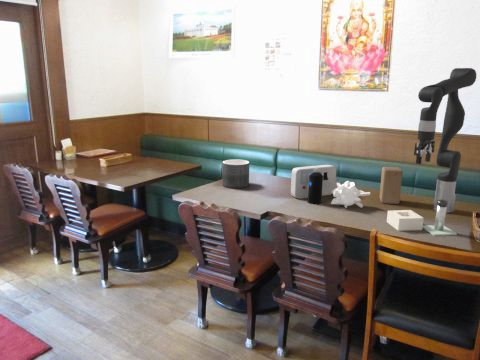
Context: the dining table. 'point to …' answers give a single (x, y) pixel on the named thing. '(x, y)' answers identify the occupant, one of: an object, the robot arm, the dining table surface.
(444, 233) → the mat
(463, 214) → the dining table surface
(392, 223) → the socket
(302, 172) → the rounded white slab
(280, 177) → the dining table surface
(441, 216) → the key peg
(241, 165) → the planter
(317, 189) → the black tall cylinder
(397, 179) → the wooden block
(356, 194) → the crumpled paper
